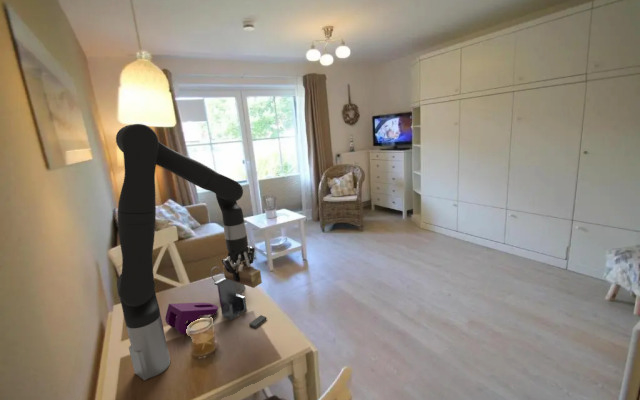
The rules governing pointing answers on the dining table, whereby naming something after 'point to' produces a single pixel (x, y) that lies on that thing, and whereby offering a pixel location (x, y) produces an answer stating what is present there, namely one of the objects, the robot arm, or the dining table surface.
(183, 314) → the mounting bracket
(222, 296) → the cup bracket
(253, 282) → the brown wooden block
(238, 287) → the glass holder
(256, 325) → the far saddle
